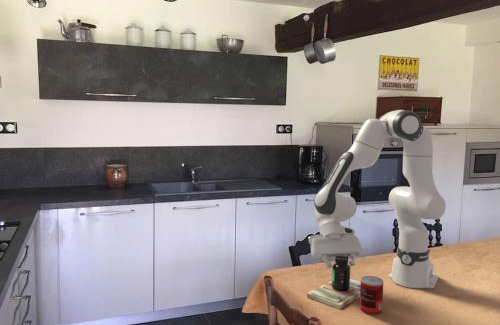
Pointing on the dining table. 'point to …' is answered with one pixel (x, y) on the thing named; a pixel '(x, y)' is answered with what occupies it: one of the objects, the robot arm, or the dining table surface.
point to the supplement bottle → (341, 274)
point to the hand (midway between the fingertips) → (341, 266)
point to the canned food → (371, 294)
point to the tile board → (336, 294)
